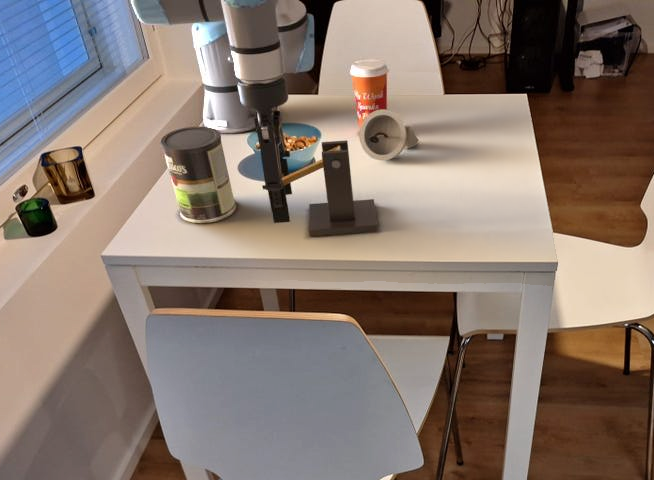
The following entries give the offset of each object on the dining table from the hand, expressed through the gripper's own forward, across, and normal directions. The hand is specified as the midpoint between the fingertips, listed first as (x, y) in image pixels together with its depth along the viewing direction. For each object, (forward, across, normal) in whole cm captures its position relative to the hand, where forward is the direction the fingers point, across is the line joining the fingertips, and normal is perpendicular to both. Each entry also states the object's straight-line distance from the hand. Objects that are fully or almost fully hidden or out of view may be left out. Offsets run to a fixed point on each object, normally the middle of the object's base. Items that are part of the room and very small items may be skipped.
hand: (283, 207), depth 118 cm
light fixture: (+4, -27, +20) cm, 34 cm away
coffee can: (+4, -8, -15) cm, 17 cm away
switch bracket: (+4, 0, +10) cm, 11 cm away
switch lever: (-6, 0, +6) cm, 8 cm away
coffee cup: (+4, -40, +18) cm, 44 cm away
